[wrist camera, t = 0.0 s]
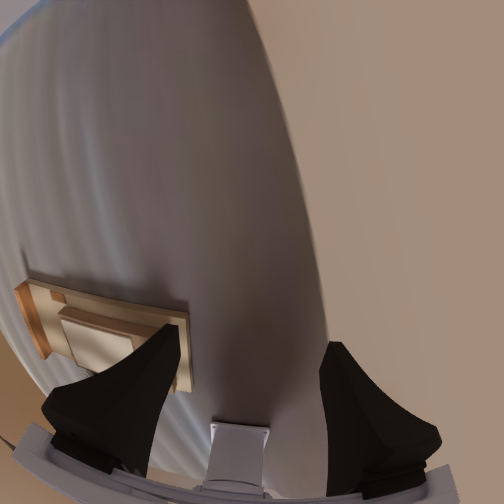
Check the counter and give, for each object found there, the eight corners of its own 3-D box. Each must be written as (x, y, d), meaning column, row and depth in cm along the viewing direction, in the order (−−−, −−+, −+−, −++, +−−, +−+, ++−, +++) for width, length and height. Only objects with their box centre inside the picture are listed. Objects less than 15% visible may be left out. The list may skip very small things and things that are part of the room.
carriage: (177, 384, 27) (164, 423, 22) (82, 358, 27) (62, 387, 22) (170, 331, 24) (150, 373, 19) (64, 306, 24) (36, 334, 19)
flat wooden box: (193, 386, 28) (187, 405, 26) (51, 345, 29) (41, 357, 26) (188, 312, 24) (179, 332, 21) (28, 278, 25) (13, 289, 22)
